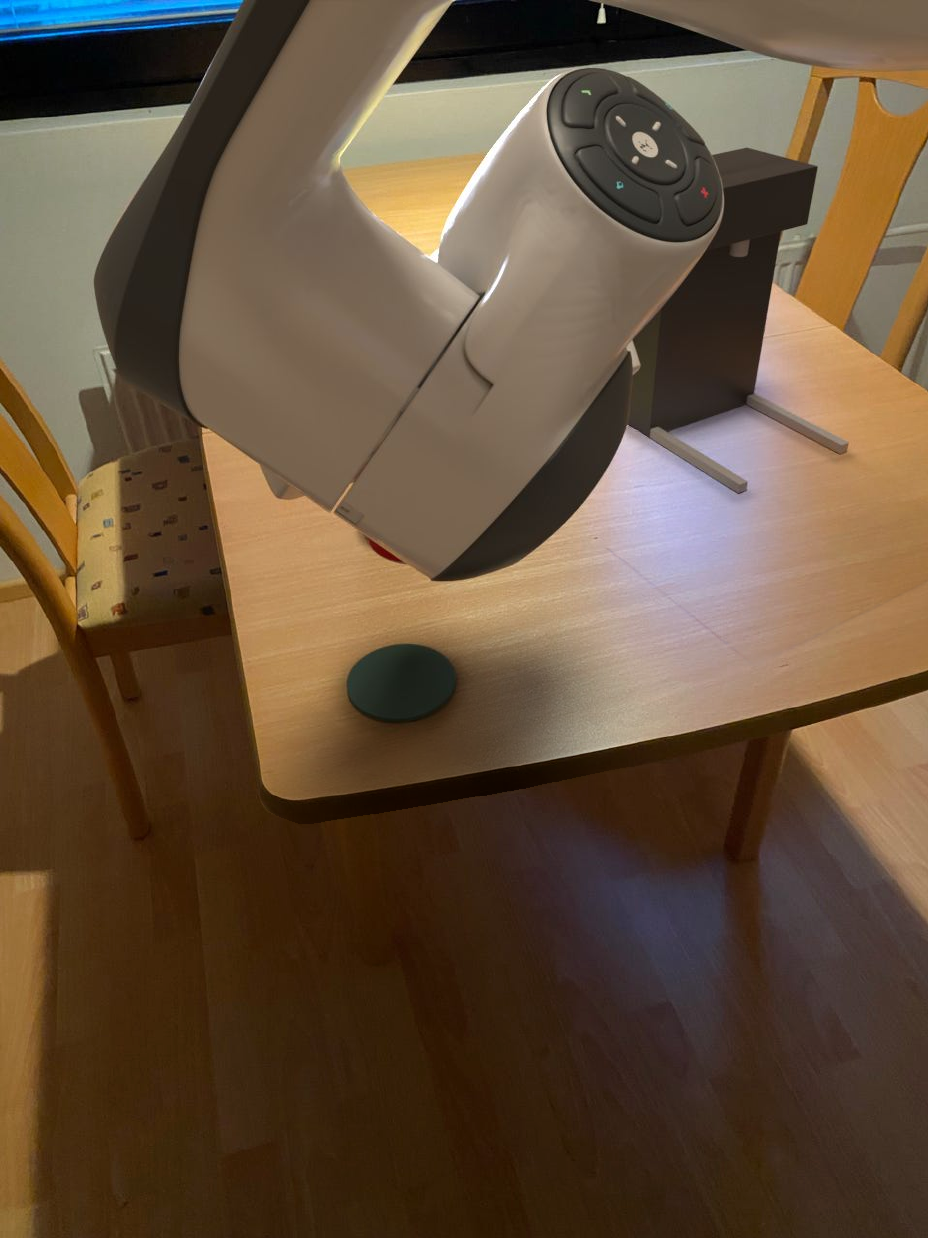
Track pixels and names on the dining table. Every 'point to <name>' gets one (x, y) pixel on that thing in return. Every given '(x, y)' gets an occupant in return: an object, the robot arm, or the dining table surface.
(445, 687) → the coaster
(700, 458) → the coffee maker
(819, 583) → the dining table surface
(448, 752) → the dining table surface
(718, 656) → the dining table surface
